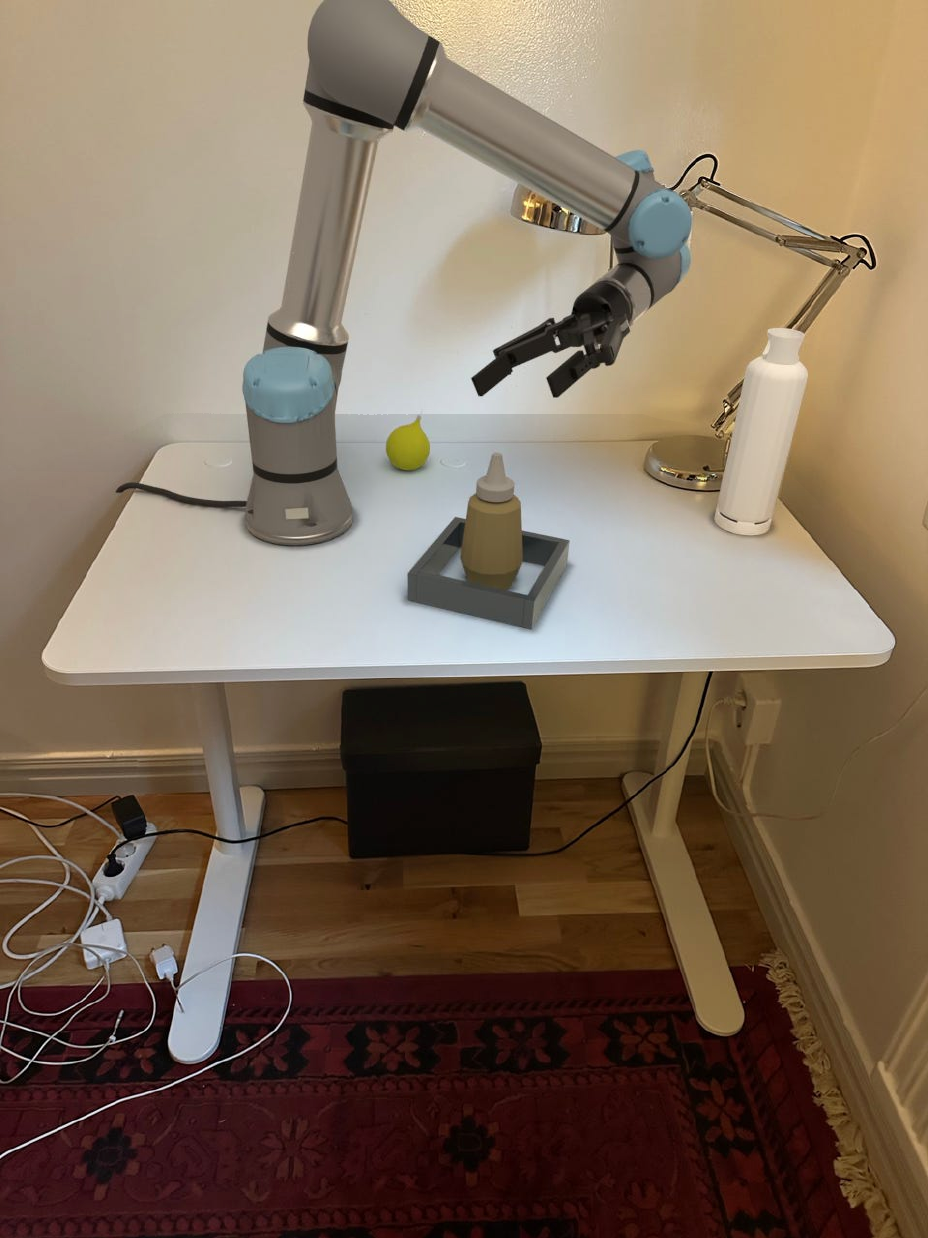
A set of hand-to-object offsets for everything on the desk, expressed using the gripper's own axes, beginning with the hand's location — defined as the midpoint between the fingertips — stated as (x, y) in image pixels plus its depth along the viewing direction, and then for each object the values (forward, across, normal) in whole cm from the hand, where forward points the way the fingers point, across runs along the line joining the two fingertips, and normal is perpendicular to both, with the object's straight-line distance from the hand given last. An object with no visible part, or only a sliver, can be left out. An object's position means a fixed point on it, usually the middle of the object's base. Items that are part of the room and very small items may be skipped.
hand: (512, 387), depth 111 cm
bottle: (-22, -12, -36) cm, 43 cm away
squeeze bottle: (+16, 0, -20) cm, 25 cm away
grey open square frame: (+16, 0, -20) cm, 25 cm away
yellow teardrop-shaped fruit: (-1, +33, -16) cm, 36 cm away
